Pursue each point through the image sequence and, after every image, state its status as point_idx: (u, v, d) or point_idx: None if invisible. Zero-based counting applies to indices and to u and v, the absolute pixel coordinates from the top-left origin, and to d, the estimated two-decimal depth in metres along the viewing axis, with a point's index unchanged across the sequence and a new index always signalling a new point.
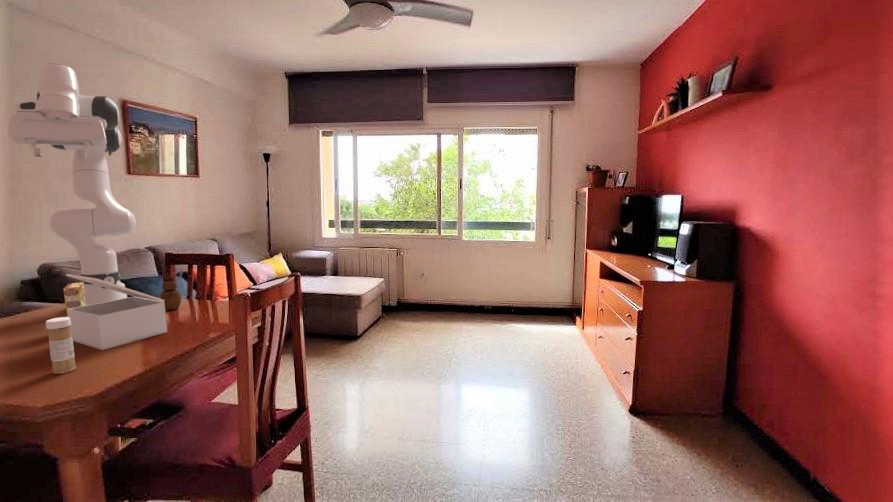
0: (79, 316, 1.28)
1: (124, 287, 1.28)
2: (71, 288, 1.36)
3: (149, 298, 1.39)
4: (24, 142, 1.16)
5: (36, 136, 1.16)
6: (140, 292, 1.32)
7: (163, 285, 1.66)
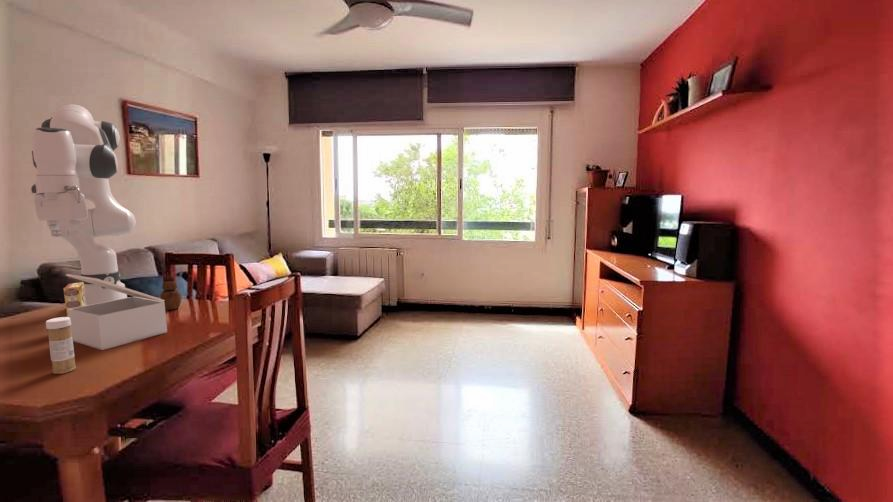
0: (79, 316, 1.28)
1: (124, 287, 1.28)
2: (71, 288, 1.36)
3: (149, 298, 1.39)
4: None
5: (47, 219, 1.22)
6: (140, 292, 1.32)
7: (163, 285, 1.66)
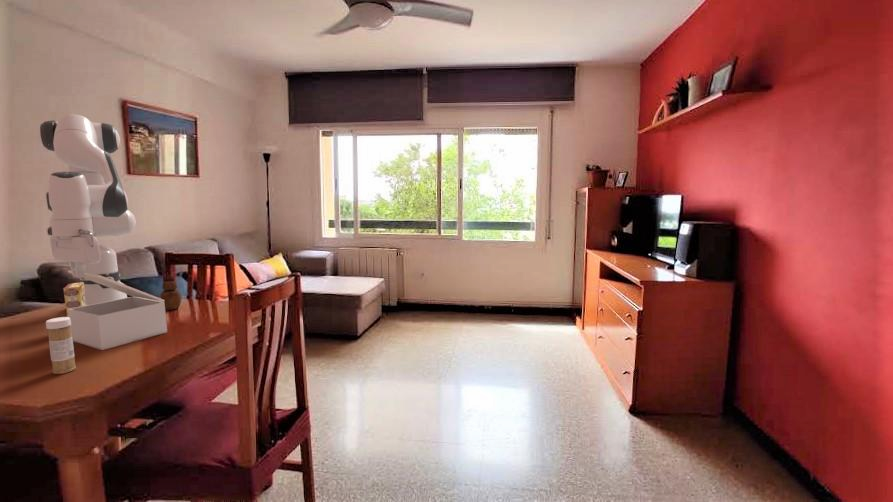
0: (79, 316, 1.28)
1: (125, 285, 1.28)
2: (71, 288, 1.36)
3: (149, 298, 1.39)
4: None
5: (62, 260, 1.26)
6: (141, 291, 1.32)
7: (163, 285, 1.66)
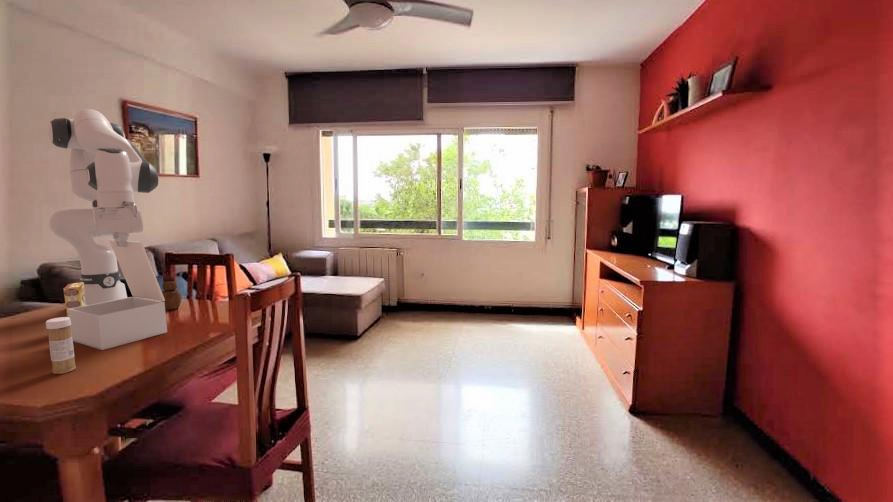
0: (79, 316, 1.28)
1: (150, 264, 1.34)
2: (71, 288, 1.36)
3: (152, 294, 1.39)
4: None
5: (106, 231, 1.35)
6: (156, 278, 1.36)
7: (163, 285, 1.66)
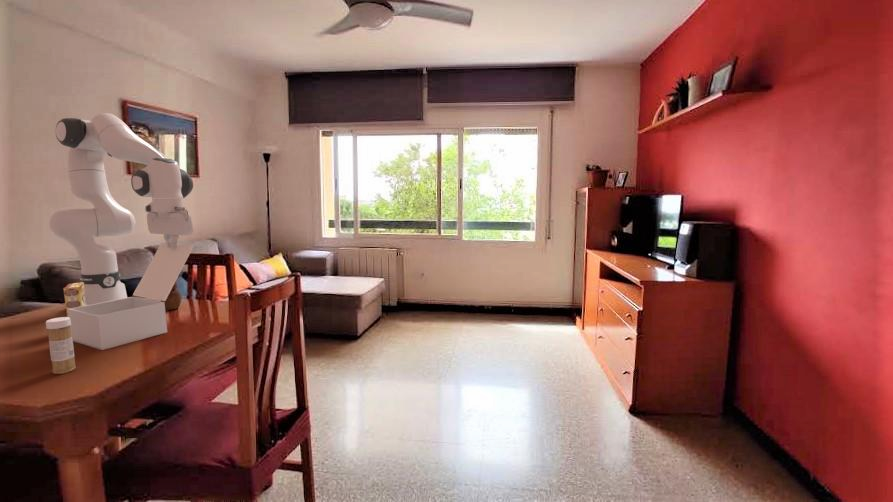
0: (79, 316, 1.28)
1: (183, 265, 1.43)
2: (71, 288, 1.36)
3: (157, 293, 1.41)
4: None
5: (158, 233, 1.48)
6: (176, 278, 1.41)
7: None
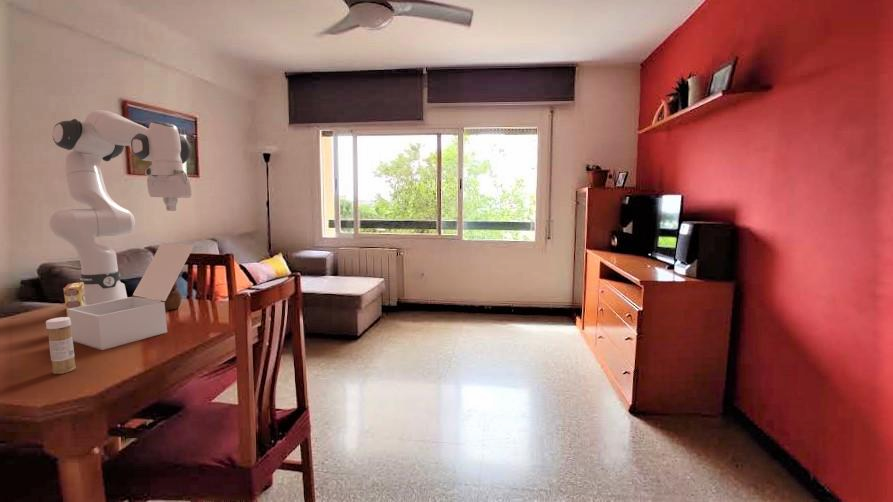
0: (79, 316, 1.28)
1: (183, 265, 1.43)
2: (71, 288, 1.36)
3: (157, 293, 1.41)
4: None
5: (157, 196, 1.52)
6: (176, 278, 1.41)
7: None
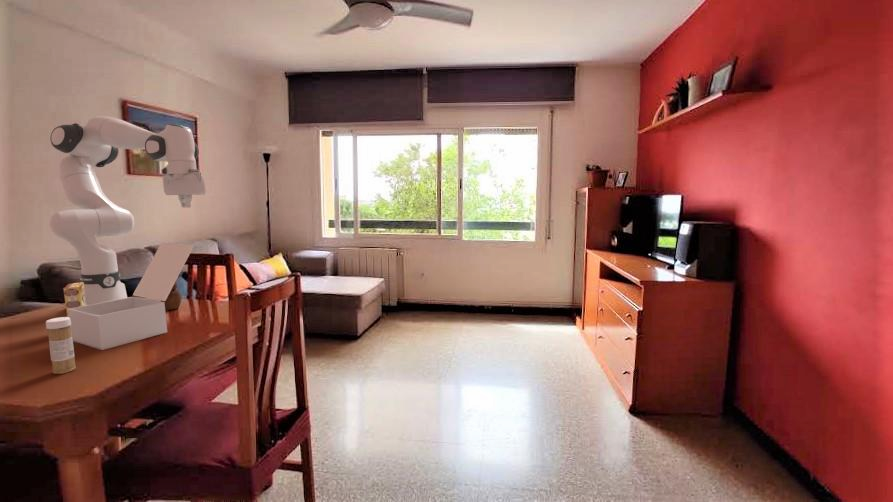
0: (79, 316, 1.28)
1: (183, 265, 1.43)
2: (71, 288, 1.36)
3: (157, 293, 1.41)
4: None
5: (173, 194, 1.62)
6: (176, 278, 1.41)
7: None
